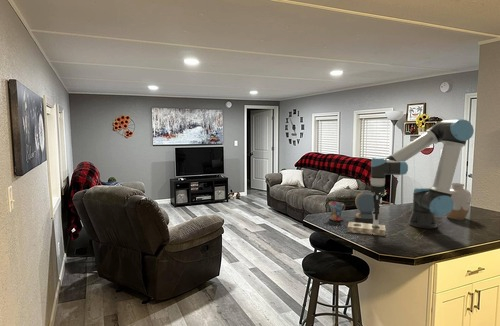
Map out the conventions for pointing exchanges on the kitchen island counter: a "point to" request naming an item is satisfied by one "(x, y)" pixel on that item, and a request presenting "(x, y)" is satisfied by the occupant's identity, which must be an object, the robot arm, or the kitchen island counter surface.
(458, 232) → the kitchen island counter surface
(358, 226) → the hole block
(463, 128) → the robot arm
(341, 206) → the mug
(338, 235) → the kitchen island counter surface
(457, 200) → the vase
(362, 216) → the alarm clock
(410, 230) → the kitchen island counter surface
